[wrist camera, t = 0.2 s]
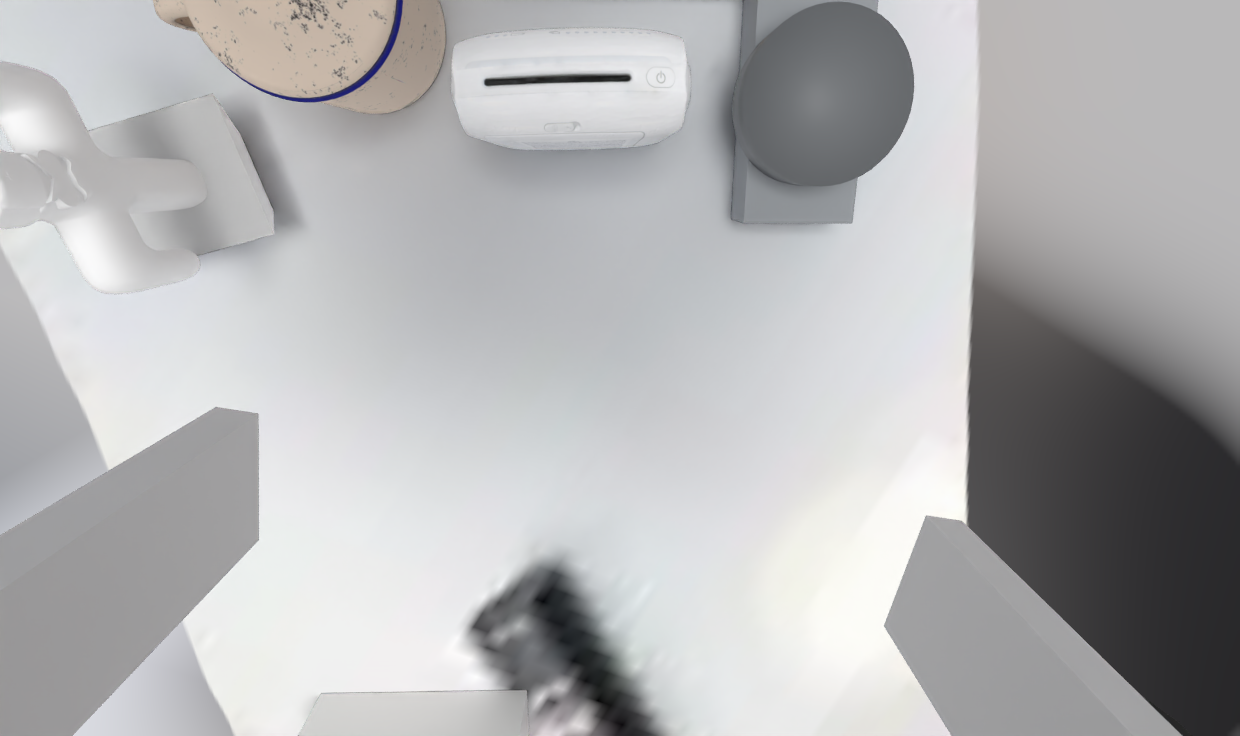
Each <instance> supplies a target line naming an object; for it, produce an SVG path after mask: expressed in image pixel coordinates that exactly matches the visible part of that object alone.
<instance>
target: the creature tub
mask: <svg viewBox="0 0 1240 736" xmlns="http://www.w3.org/2000/svg"><path fill="white" fill-rule="evenodd" d="M298 736H529V719H528V701H527V690H502V691H441V692H380V693H321V695H320V696H319V698H318V700H317V702H316V704H315V705H314V707H313V709H312V711H311V713H310V715H309V716H308V718H307V720H306V722H305V724H304V725H303V727H302V729H301V731H300V733H299V734H298Z"/></svg>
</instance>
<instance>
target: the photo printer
mask: <svg viewBox="0 0 1240 736" xmlns="http://www.w3.org/2000/svg"><path fill="white" fill-rule="evenodd" d="M451 94H452V99H453V102H454V105H455V107H456V109H457V113H458V116H459V119H460V122H461V125H462V127H463V129H464V131H465V133H466V134H467V135H469V136H471V137H474V138H477V139H480V140H484V141H487V142H490V143H493V144H496V145H499V146H503V147H507V148H513V149H521V150H584V149H611V148H630V147H640V146H646V145H651V144H655V143H658V142H661V141H662V140H664V139H665V138H667V137H669V136H670V135H672V134H674V133H676V132H677V131H679V130H681V128H682V126H683V122H684V117H685V112H686V109H687V107H688V105H689V102H690V97H691V72H690V67H689V64H688V62H687V59H686V50H685V45H684V41H683V39H682V38H681V37H678V36H675V35H672V34H668V33H665V32H659V31H654V30H643V29H628V28H552V29H532V30H520V31H508V32H498V33H491V34H485V35H480V36H476V37H472V38H469V39H466V40H464V41H461V42H458V43H457V44H456V45H455V46H454V49H453V53H452V75H451Z"/></svg>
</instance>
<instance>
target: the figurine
mask: <svg viewBox="0 0 1240 736" xmlns="http://www.w3.org/2000/svg"><path fill="white" fill-rule="evenodd" d="M0 127H1V129H2V130H3V132H4V134H5V136H6V138H7V140H8V141H9V143H10V145H11V147H12V149H13V152H7V151H4V150H0V229H10V228H20V227H26V226H29V225H31V224H33V223H34V222H36V221H45V222H48V223H50V224H52V225H54V226H55V228H56V229H57V231H58V233H59V235H60V237H61V238H62V240H63V242H64V244H65V246H66V248H67V249H68V251H69V253H70V255H71V257H72V259H73V260H74V262H75V264H76V266H77V268H78V270H79V271H80V273H81V275H82V277H83V278H84V279H85V281H86V282H87V283H88V284H89V285H90V286H91V287H92V288H94V289H95V290H97V291H99V292H102V293H106V294H128V293H134V292H139V291H144V290H148V289H152V288H156V287H160V286H164V285H168V284H172V283H176V282H180V281H183V280H186V279H188V278H190V277H192V276H194V275H195V274H196V273H197V272H198V271H199V268H200V260H199V258H198V257H197V256H199V255H203V254H206V253H210V252H213V251H217V250H220V249H224V248H227V247H231V246H234V245H238V244H241V243H245V242H249V241H252V240H256V239H259V238H263V237H266V236H270V235H273V234H274V211H273V208H272V206H271V204H270V201H269V199H268V197H267V194H266V192H265V190H264V188H263V185H262V183H261V181H260V178H259V176H258V174H257V171H256V169H255V167H254V164H253V162H252V160H251V157H250V155H249V153H248V150H247V148H246V146H245V144H244V141H243V139H242V137H241V135H240V133H239V132H238V130H237V129H236V127H235V126H234V124H233V123H232V121H231V120H230V118H229V117H228V115H227V114H226V112H225V111H224V109H223V108H222V106H221V105H220V103H219V102H218V100H217V99H216V97H215V96H214V94H213V93H212V94H209V95H206V96H202V97H199V98H196V99H192V100H189V101H186V102H182V103H179V104H176V105H172V106H169V107H166V108H162V109H159V110H156V111H152V112H149V113H146V114H142V115H139V116H136V117H132V118H129V119H126V120H122V121H119V122H116V123H112V124H109V125H106V126H102V127H99V128H95V129H92V130H89V131H87V129H86V127H85V125H84V123H83V121H82V119H81V117H80V115H79V113H78V111H77V109H76V107H75V105H74V103H73V101H72V99H71V97H70V95H69V94H68V92H67V91H66V89H65V88H64V87H63V86H62V85H61V84H60V82H58V81H57V80H56V79H55V78H53V77H52V76H50V75H48V74H46V73H44V72H42V71H40V70H37V69H34V68H30V67H27V66H23V65H19V64H14V63H9V62H4V61H0Z"/></svg>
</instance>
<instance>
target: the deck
mask: <svg viewBox="0 0 1240 736" xmlns="http://www.w3.org/2000/svg"><path fill="white" fill-rule="evenodd" d="M877 7H878V0H743V15H742V32H741V50H740V68H739V76H738V79H737V82H736V85H735V89H734V94H733V102H732V117H733V125H734V130H735V133H736V138H735V156H734V174H733V191H732V209H731V219H732V220H735V221H738V222H741V223H852V221H853V212H854V204H855V195H856V187H857V178H858V177H859V176H861V175H863V174H865V173H866V172H868V171H869V170H871V169H872V168H873V167H874V166H876V165H877V164H878V163H879V162H880V161H881V160H882V159H883V158H884V157H885V156H886V155H887V154H888V153H889V152H890V150H891V149H892V148H893V146H894V145H895V144H896V142H897V141H898V139H899V137H900V136H901V134H902V132H903V130H904V127H905V125H906V123H907V120H908V117H909V114H910V111H911V106H912V101H913V93H914V74H913V68H912V62H911V59H910V55H909V52H908V50H907V47H906V45H905V43H904V41H903V39H902V38H901V36H900V35H899V33H898V32H897V30H896V29H895V28H894V27H893V26H892V24H891V23H890V22H889V21H887V20H886V19H885V18H884V17H883V16H882V15H880V14H878V13H877Z"/></svg>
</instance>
